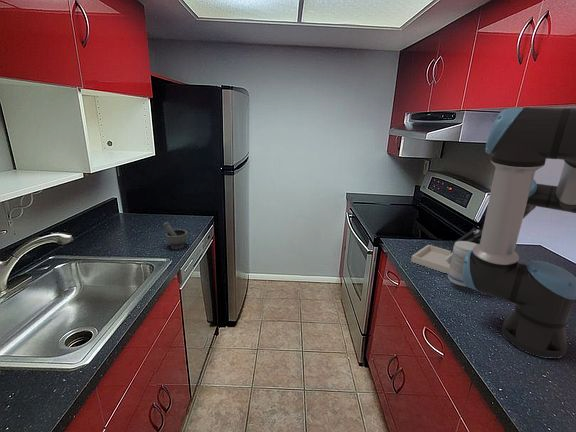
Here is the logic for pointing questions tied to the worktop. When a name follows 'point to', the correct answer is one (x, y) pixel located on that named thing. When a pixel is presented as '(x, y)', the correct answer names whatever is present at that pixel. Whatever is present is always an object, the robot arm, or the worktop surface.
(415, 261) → the tray
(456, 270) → the supplement tub
